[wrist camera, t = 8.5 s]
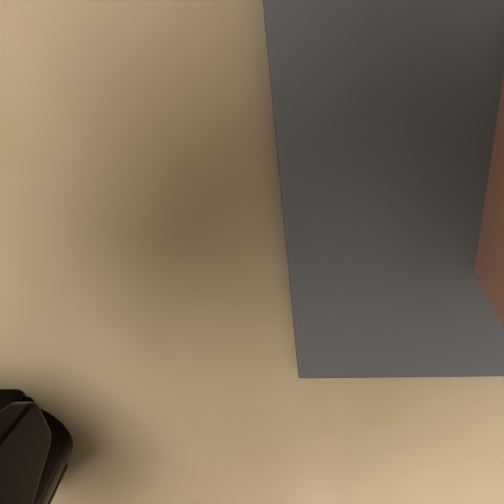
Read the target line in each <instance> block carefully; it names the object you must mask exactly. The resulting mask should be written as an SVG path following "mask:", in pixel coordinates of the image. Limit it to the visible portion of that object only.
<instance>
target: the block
mask: <svg viewBox="0 0 504 504" xmlns="http://www.w3.org/2000/svg"><path fill="white" fill-rule="evenodd" d="M474 272H475V274H476V276H477V278H478V280H479V282H480V284H481V286H482V288H483V290H484V292H485V294H486V296H487V298H488V300H489V302H490V304H491V306H492V308H493V310H494V312H495V313H496V315H497V317H498V319H499V321H500V323H501V325H502V327H503V329H504V77H503V83H502V90H501V97H500V103H499V110H498V116H497V123H496V130H495V136H494V143H493V149H492V156H491V163H490V169H489V176H488V182H487V189H486V196H485V202H484V209H483V215H482V222H481V229H480V235H479V242H478V248H477V255H476V262H475V268H474Z"/></svg>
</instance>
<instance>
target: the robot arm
mask: <svg viewBox="0 0 504 504" xmlns="http://www.w3.org/2000/svg"><path fill="white" fill-rule="evenodd" d="M72 448H73V441H72V438H71V435H70V433H69V432H68V430H67V429H66V427H65V426H64V425H63V424H62V423H61V422H60V421H59V420H57V419H56V418H55V417H54V416H52V415H51V414H49V413H48V412H46V411H44V410H42V409H40V408H39V406H38V405H37V404H36V403H35V402H34V400H33V399H32V398H30V397H25V396H24V394H23V392H22V391H20V390H0V504H51V501H52V499H53V497H54V495H55V493H56V491H57V488H58V486H59V484H60V482H61V480H62V478H63V475H64V473H65V471H66V469H67V467H68V466H67V463H66V462H67V460H68V458H69V456H70V454H71V452H72Z"/></svg>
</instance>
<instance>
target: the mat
mask: <svg viewBox="0 0 504 504" xmlns="http://www.w3.org/2000/svg"><path fill="white" fill-rule="evenodd" d="M263 7H264V18H265V28H266V39H267V49H268V60H269V70H270V81H271V91H272V102H273V112H274V123H275V133H276V144H277V154H278V165H279V175H280V186H281V196H282V207H283V217H284V228H285V238H286V249H287V260H288V270H289V281H290V291H291V302H292V312H293V323H294V333H295V344H296V354H297V365H298V375H299V378H370V377H468V376H504V329H503V327H502V325H501V323H500V321H499V319H498V317H497V315H496V313H495V312H494V310H493V308H492V306H491V304H490V302H489V300H488V298H487V296H486V294H485V292H484V290H483V288H482V286H481V284H480V282H479V280H478V278H477V276H476V274H475V272H474V268H475V262H476V255H477V248H478V242H479V235H480V229H481V222H482V215H483V209H484V202H485V196H486V189H487V182H488V176H489V169H490V163H491V156H492V149H493V143H494V136H495V130H496V123H497V116H498V110H499V103H500V97H501V90H502V83H503V77H504V0H263Z"/></svg>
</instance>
